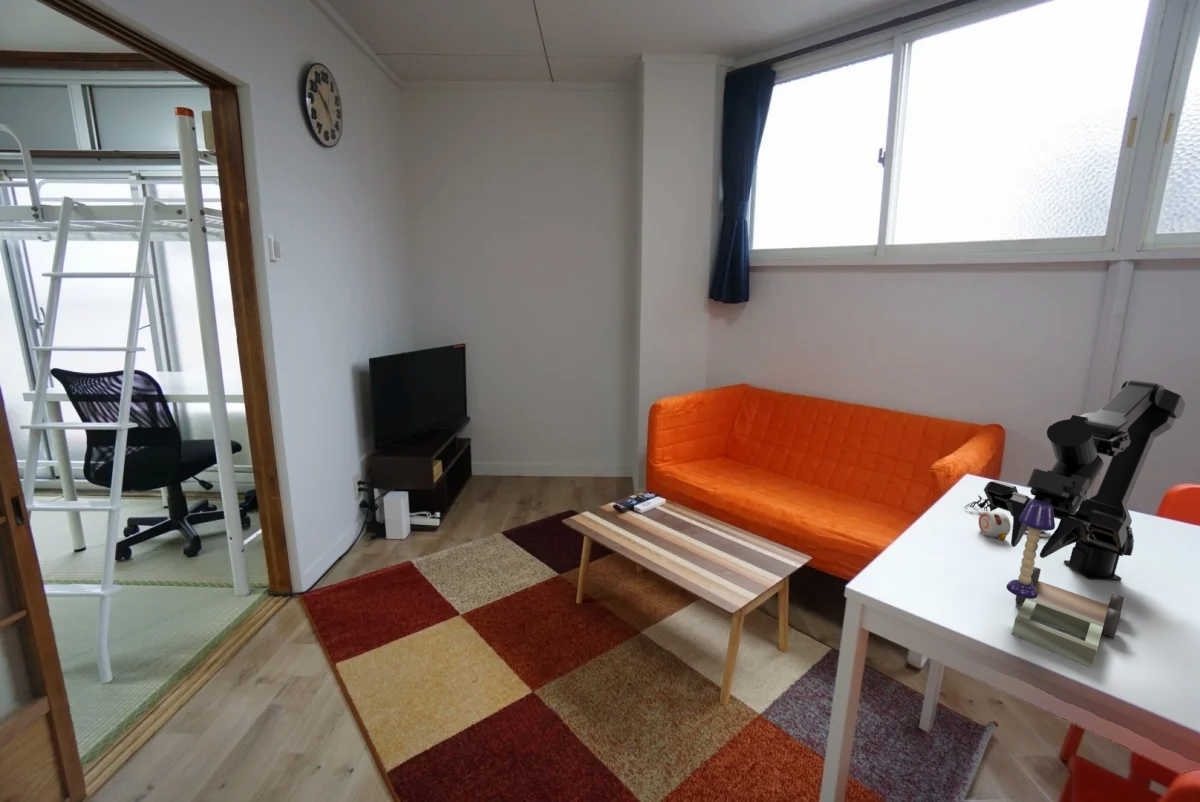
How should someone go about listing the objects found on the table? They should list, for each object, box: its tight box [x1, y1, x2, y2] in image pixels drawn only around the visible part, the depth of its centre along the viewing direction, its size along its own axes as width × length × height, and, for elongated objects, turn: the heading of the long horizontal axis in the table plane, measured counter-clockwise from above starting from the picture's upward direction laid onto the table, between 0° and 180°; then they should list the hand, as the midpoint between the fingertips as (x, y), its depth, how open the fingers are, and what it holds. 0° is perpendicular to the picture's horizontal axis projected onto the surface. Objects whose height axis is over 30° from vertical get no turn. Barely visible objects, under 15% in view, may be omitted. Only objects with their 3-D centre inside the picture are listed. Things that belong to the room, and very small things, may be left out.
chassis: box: [1011, 566, 1125, 668], centre depth 90 cm, size 22×13×4 cm, turn 132°
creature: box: [963, 495, 999, 511], centre depth 134 cm, size 8×5×8 cm
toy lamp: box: [1006, 500, 1056, 599], centre depth 88 cm, size 5×5×17 cm
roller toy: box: [978, 510, 1012, 541], centre depth 121 cm, size 4×6×6 cm
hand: (1026, 550), depth 88 cm, fingers closed on toy lamp, 4 cm apart
